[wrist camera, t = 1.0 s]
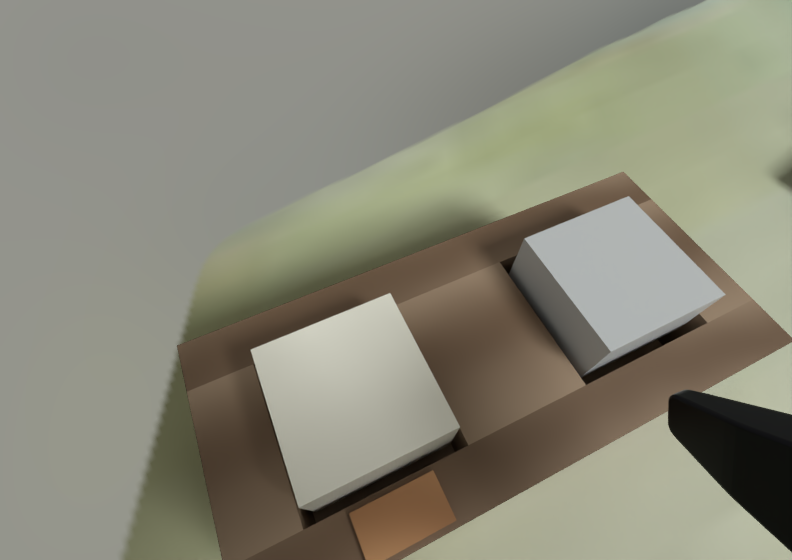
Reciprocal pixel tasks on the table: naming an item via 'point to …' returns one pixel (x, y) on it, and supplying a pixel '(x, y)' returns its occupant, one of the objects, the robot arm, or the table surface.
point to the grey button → (609, 284)
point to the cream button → (351, 402)
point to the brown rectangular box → (454, 391)
